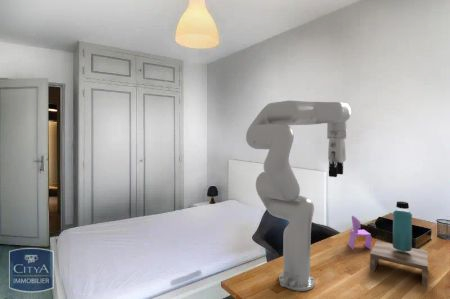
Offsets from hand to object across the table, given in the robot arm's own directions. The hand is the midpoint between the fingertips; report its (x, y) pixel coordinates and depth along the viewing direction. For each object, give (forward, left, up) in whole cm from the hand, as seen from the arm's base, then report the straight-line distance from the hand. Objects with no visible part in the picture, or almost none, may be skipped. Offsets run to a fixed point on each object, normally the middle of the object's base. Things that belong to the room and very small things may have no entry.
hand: (336, 175), depth 114 cm
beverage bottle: (+6, -24, -30) cm, 38 cm away
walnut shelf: (+5, -23, -36) cm, 43 cm away
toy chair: (+20, -6, -37) cm, 42 cm away
